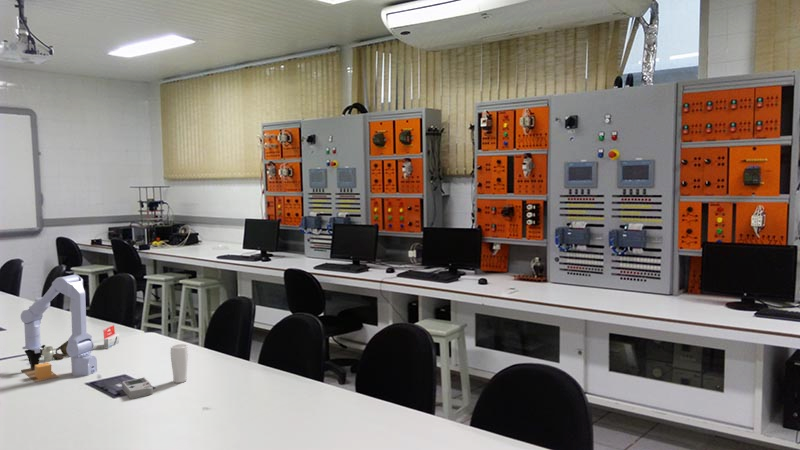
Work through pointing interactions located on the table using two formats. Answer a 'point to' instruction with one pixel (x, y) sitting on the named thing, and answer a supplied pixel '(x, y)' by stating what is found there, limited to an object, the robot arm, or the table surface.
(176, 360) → the drinking glass
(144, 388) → the handheld gaming device
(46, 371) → the cube
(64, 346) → the brown rounded piece
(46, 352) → the valve
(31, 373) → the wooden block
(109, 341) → the ink cartridge box
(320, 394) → the table surface
